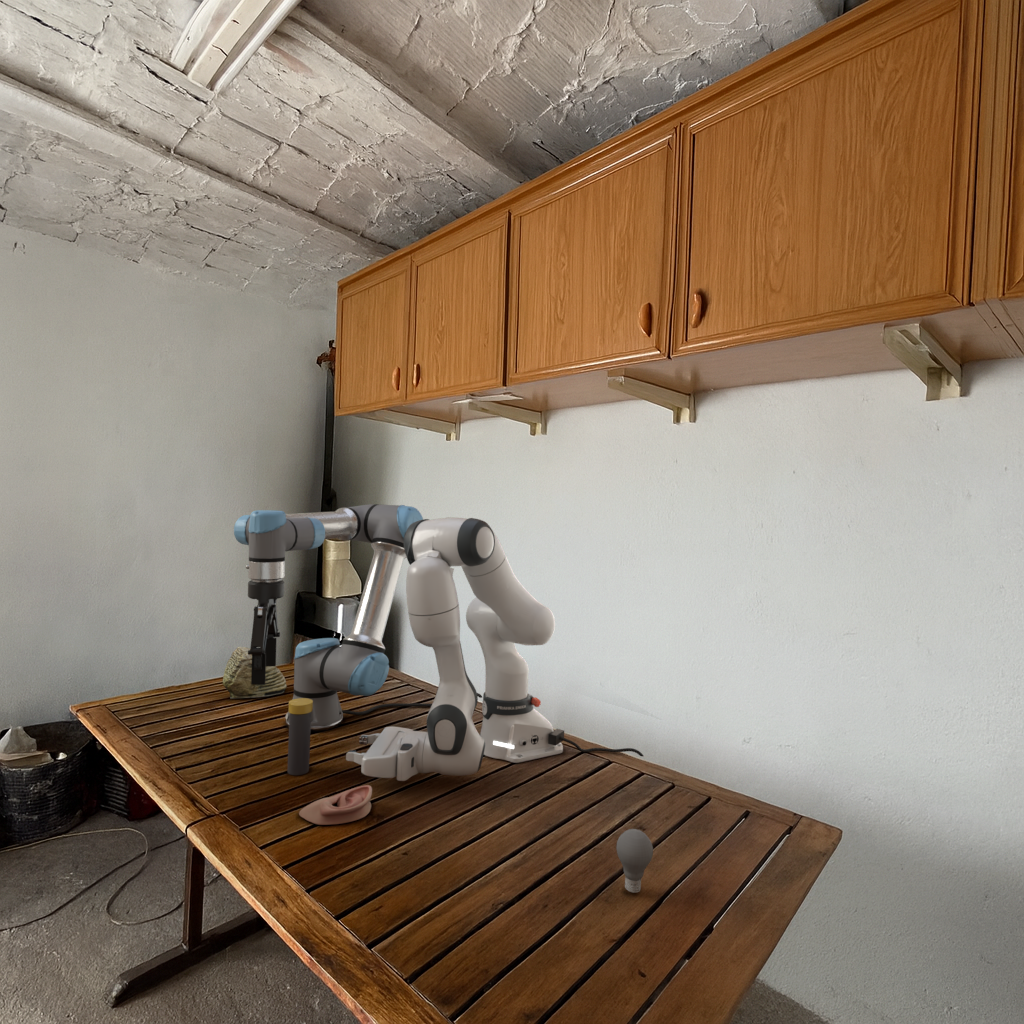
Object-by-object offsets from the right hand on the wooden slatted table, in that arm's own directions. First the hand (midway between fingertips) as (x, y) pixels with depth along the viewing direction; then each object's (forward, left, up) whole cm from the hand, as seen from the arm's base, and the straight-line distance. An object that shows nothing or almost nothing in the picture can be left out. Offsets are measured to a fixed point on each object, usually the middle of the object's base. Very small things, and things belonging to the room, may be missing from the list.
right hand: (353, 747), depth 145 cm
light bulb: (-39, +57, -6) cm, 69 cm away
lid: (+12, -5, +9) cm, 16 cm away
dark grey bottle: (+12, -5, -6) cm, 14 cm away
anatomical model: (+5, +17, -6) cm, 18 cm away
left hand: (+20, -4, +17) cm, 26 cm away
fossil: (+22, -66, -6) cm, 70 cm away
